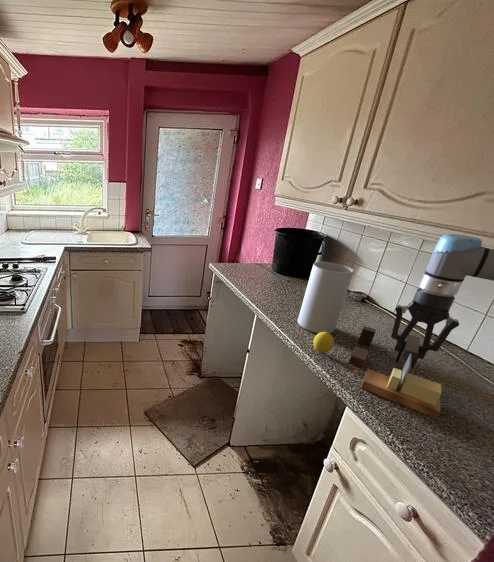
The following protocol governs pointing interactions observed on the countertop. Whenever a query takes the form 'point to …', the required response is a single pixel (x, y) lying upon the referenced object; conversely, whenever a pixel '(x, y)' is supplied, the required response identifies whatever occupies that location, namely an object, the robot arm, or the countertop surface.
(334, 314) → the cylinder vase
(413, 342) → the knife
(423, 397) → the butter
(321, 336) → the lemon
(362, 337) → the knife stand
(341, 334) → the countertop surface
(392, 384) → the butter slice
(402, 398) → the board
